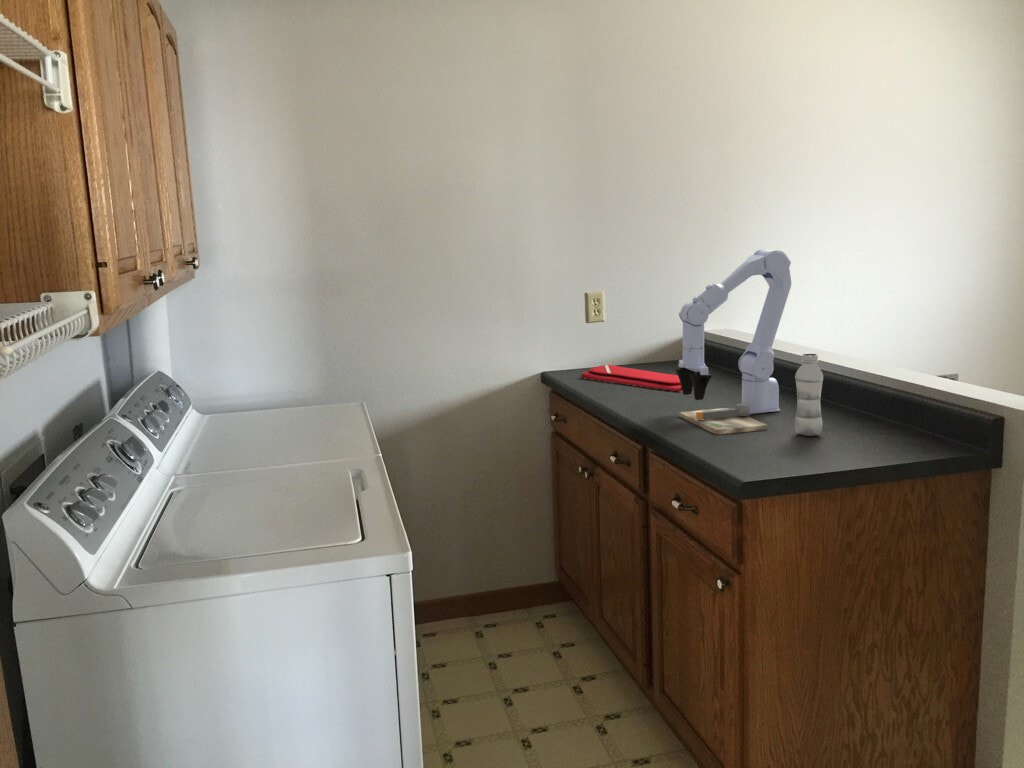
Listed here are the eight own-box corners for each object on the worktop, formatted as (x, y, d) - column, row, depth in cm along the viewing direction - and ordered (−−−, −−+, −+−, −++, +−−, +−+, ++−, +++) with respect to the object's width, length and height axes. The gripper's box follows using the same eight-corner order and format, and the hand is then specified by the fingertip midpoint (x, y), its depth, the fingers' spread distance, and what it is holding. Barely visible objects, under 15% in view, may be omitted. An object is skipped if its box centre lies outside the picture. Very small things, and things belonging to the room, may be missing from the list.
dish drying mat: (678, 394, 279) (678, 382, 278) (580, 380, 308) (579, 369, 307) (708, 386, 289) (708, 375, 288) (610, 373, 319) (610, 363, 318)
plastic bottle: (808, 440, 217) (810, 357, 213) (788, 434, 223) (789, 354, 219) (828, 436, 220) (830, 354, 216) (807, 430, 226) (809, 351, 222)
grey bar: (745, 412, 241) (745, 403, 240) (752, 415, 237) (752, 405, 237) (694, 417, 237) (694, 407, 237) (700, 420, 234) (700, 410, 233)
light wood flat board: (726, 412, 250) (727, 407, 249) (769, 430, 227) (769, 425, 227) (676, 416, 246) (676, 411, 246) (715, 436, 224) (715, 430, 224)
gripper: (668, 344, 250) (668, 393, 252) (691, 352, 236) (690, 403, 239) (692, 343, 252) (692, 391, 254) (715, 350, 238) (715, 401, 240)
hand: (693, 396), depth 246 cm, fingers open, 7 cm apart
